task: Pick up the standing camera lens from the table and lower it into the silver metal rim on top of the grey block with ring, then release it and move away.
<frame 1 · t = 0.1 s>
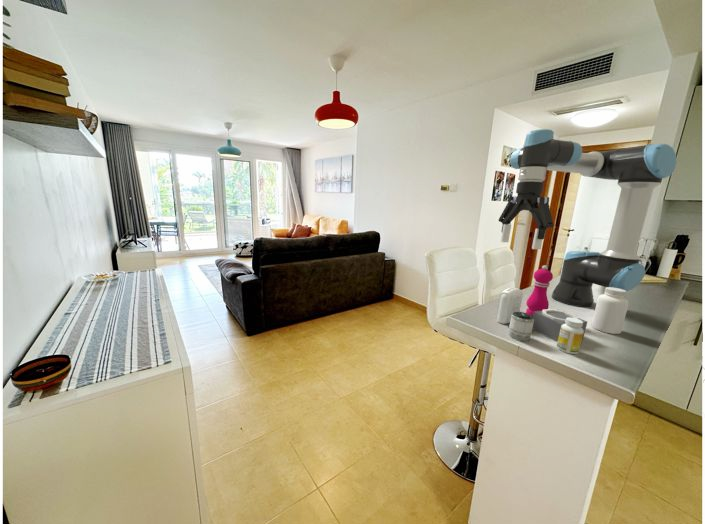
hand: (519, 245, 97), 28 cm above the worktop, tool pointing down, fingers open, 13 cm apart
pepper mill: (535, 315, 110), on the worktop
camera lens: (518, 337, 91), on the worktop
pill bottle: (605, 330, 100), on the worktop
grey block with ring: (555, 332, 95), on the worktop
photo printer: (506, 320, 104), on the worktop
supplement bottle: (567, 350, 84), on the worktop
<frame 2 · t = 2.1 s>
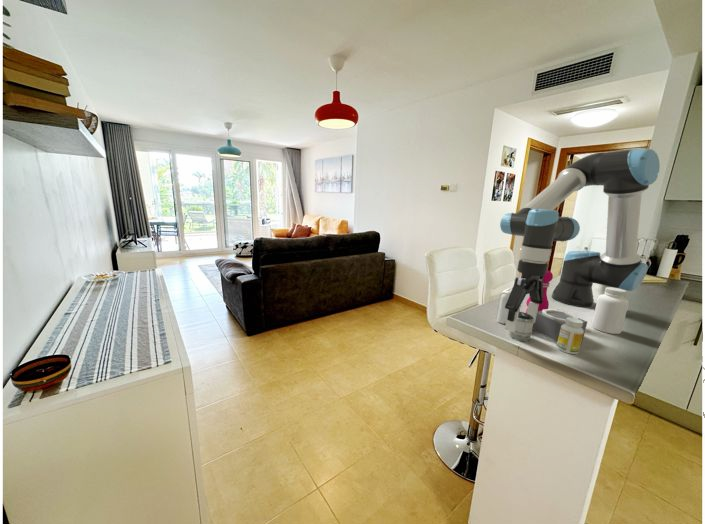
hand: (520, 325, 90), 4 cm above the worktop, tool pointing down, fingers open, 13 cm apart
nothing on the worktop moved.
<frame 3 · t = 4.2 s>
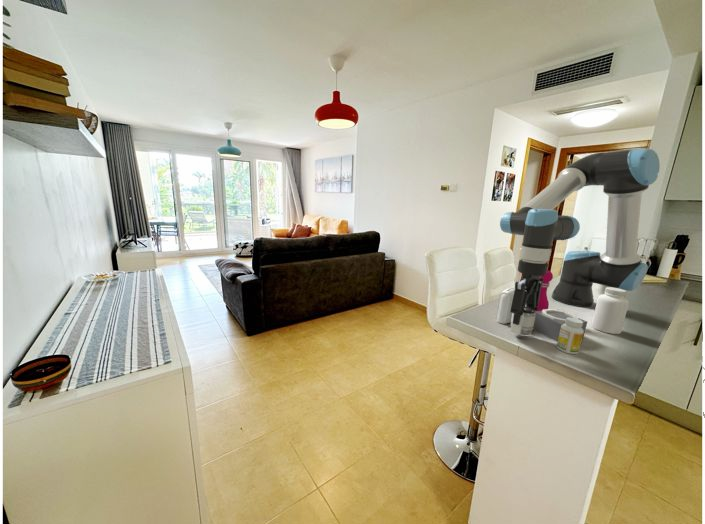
hand: (520, 330, 91), 2 cm above the worktop, tool pointing down, fingers closed on camera lens, 6 cm apart
camera lens: (520, 331, 91), point 2 cm above the worktop, touching gripper
everything else where it was.
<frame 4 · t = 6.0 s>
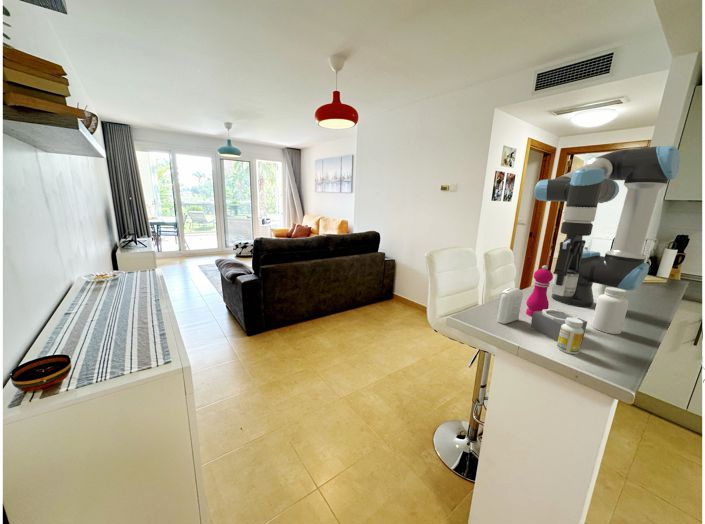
hand: (562, 292, 92), 14 cm above the worktop, tool pointing down, fingers closed on camera lens, 6 cm apart
camera lens: (562, 294, 92), point 14 cm above the worktop, touching gripper
everything else where it was.
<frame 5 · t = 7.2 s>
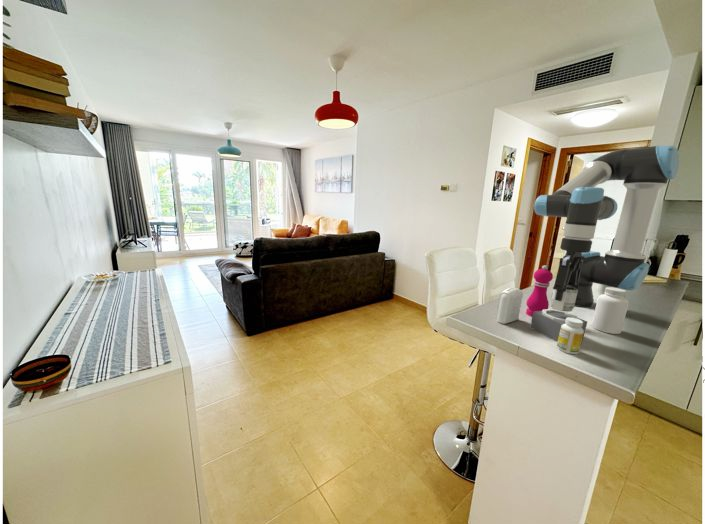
hand: (561, 307, 93), 9 cm above the worktop, tool pointing down, fingers closed on camera lens, 6 cm apart
camera lens: (561, 308, 93), point 9 cm above the worktop, touching gripper
everything else where it was.
when the fingers open (7 cm above the worktop, at t = 8.2 s): camera lens drops 1 cm, resting on grey block with ring.
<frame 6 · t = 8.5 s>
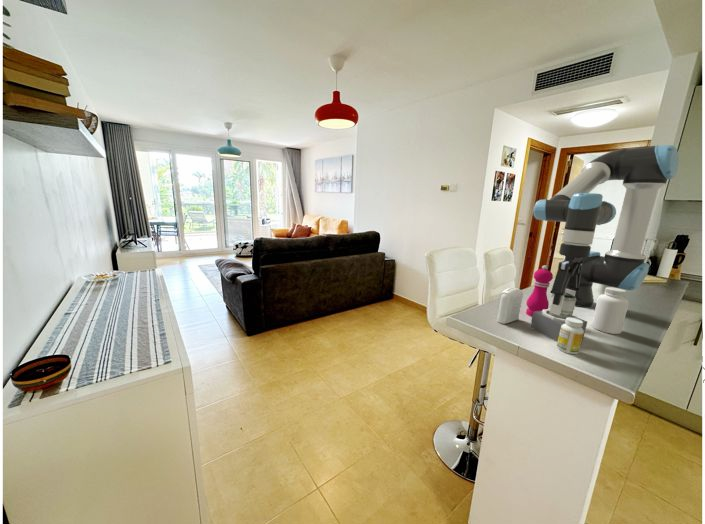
hand: (560, 310, 93), 8 cm above the worktop, tool pointing down, fingers open, 9 cm apart
camera lens: (559, 316, 94), point 6 cm above the worktop, touching grey block with ring
everything else where it was.
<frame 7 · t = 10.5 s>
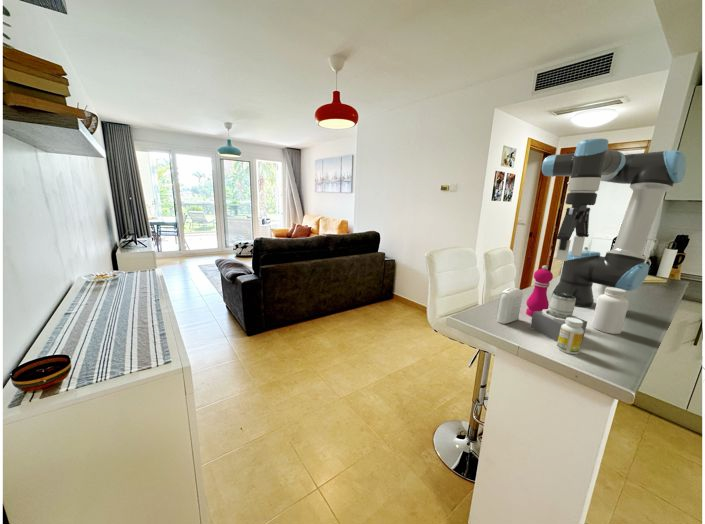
hand: (568, 257, 94), 25 cm above the worktop, tool pointing down, fingers open, 13 cm apart
nothing on the worktop moved.
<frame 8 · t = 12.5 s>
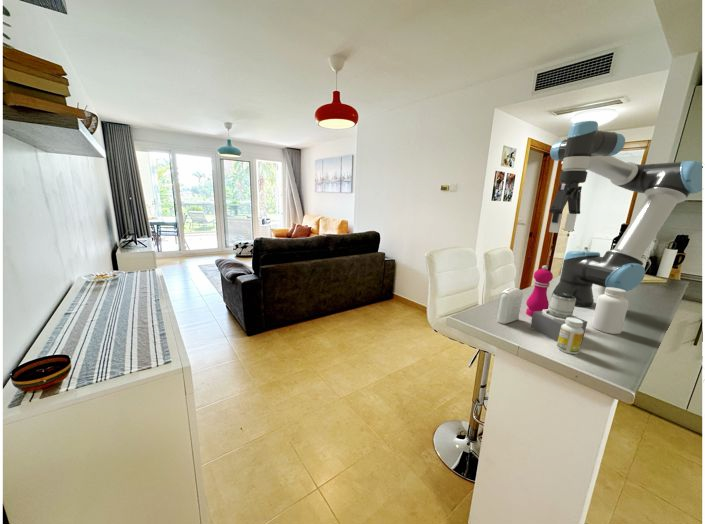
hand: (561, 231, 103), 33 cm above the worktop, tool pointing down, fingers open, 13 cm apart
nothing on the worktop moved.
at the end: camera lens 0.0 cm off-centre on the grey block with ring, point 5.8 cm above the grey block with ring's base; camera lens tilted 0°; the gripper is holding nothing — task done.
